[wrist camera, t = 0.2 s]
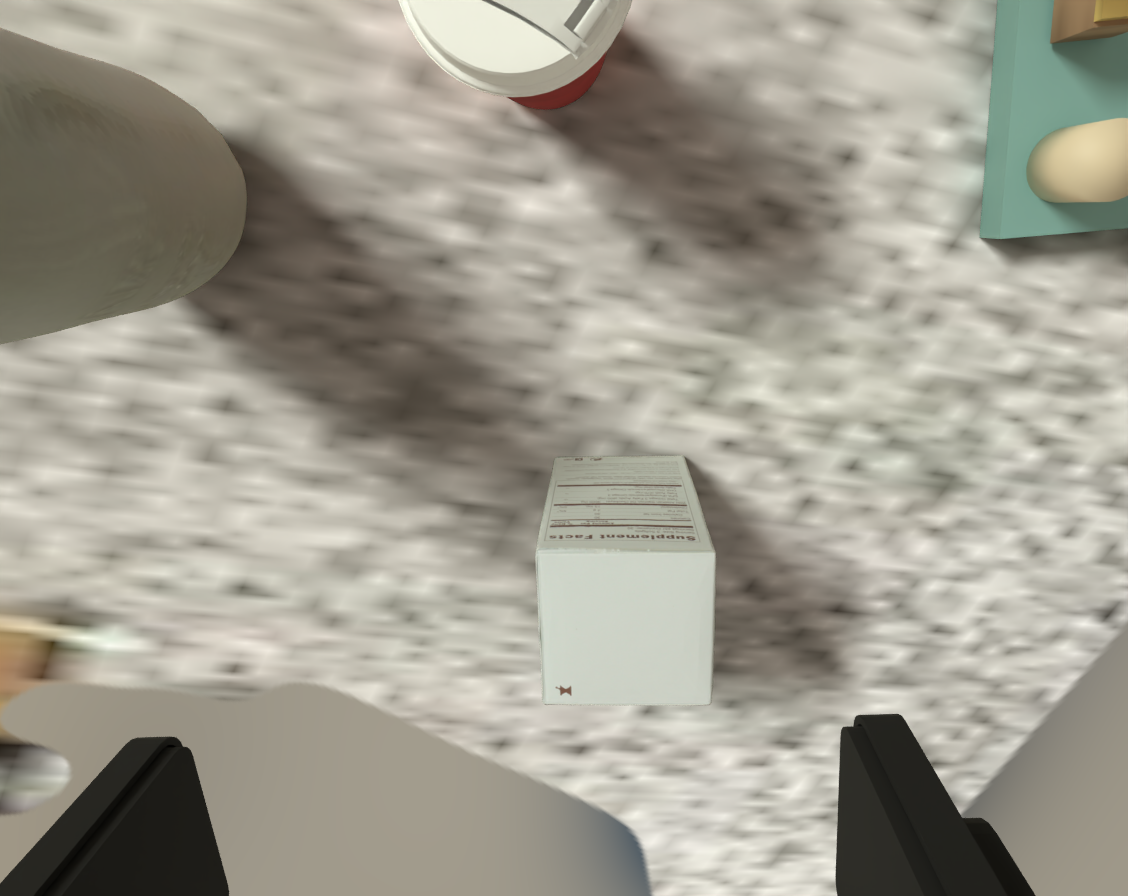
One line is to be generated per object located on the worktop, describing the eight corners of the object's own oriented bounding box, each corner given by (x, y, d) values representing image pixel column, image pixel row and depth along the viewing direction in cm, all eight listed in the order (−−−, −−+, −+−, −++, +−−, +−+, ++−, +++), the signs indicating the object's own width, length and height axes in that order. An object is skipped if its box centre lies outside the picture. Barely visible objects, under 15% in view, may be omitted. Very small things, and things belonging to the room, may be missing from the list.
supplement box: (684, 573, 43) (714, 713, 31) (556, 572, 44) (536, 710, 32) (688, 451, 41) (721, 552, 29) (552, 451, 41) (530, 551, 29)
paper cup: (661, 28, 35) (695, -84, 22) (560, 167, 37) (534, 145, 24) (527, -90, 34) (476, -286, 20) (431, 61, 36) (327, -27, 22)
